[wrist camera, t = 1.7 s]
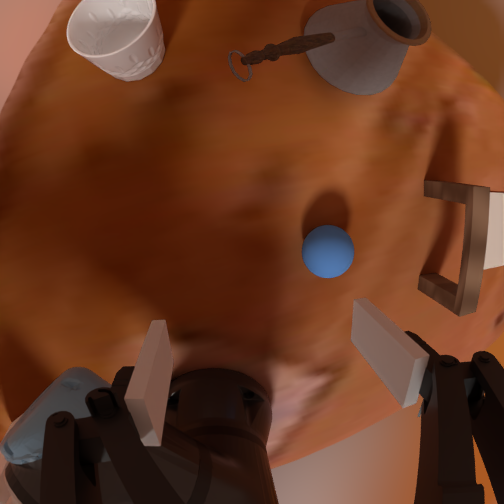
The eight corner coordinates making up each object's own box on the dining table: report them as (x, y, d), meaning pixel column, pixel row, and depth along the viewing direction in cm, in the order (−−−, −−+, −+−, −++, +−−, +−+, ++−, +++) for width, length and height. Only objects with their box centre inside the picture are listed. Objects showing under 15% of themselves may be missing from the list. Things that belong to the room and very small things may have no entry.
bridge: (433, 286, 38) (475, 311, 30) (417, 289, 38) (459, 316, 29) (440, 181, 35) (489, 187, 26) (424, 180, 34) (473, 186, 26)
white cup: (171, 21, 27) (159, -26, 17) (170, 82, 29) (153, 48, 19) (105, 31, 26) (73, -7, 16) (100, 92, 28) (61, 66, 18)
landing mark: (508, 263, 40) (508, 264, 40) (465, 272, 39) (466, 272, 39) (514, 193, 37) (515, 193, 37) (471, 191, 36) (472, 191, 35)
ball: (341, 266, 36) (361, 282, 31) (296, 271, 35) (310, 288, 30) (342, 219, 34) (363, 228, 29) (295, 222, 34) (310, 232, 29)
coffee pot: (354, 6, 28) (416, -52, 14) (402, 82, 31) (486, 53, 17) (198, 68, 29) (188, -2, 14) (253, 156, 32) (285, 144, 17)
